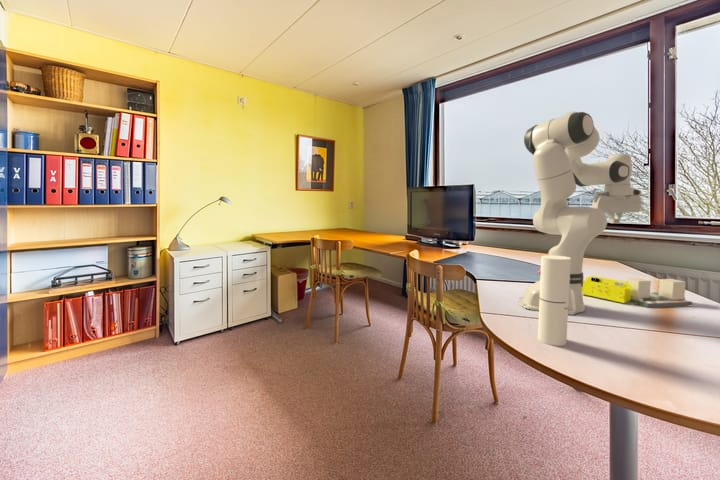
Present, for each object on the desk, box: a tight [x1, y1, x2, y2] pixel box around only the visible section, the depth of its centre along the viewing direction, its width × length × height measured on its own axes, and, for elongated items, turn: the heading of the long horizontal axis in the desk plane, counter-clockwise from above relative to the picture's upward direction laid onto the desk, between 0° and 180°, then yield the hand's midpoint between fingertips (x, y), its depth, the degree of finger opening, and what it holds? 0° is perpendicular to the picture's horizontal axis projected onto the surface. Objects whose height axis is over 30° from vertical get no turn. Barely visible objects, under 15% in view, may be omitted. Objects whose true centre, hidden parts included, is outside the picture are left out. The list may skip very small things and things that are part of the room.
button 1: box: [626, 277, 652, 298], centre depth 122 cm, size 5×6×7 cm
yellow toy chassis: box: [582, 275, 631, 304], centre depth 126 cm, size 16×6×8 cm, turn 28°
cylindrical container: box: [537, 254, 571, 347], centre depth 88 cm, size 7×7×25 cm
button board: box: [627, 292, 693, 309], centre depth 121 cm, size 18×13×2 cm
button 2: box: [657, 278, 687, 300], centre depth 120 cm, size 5×6×7 cm
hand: (614, 223), depth 135 cm, fingers closed
